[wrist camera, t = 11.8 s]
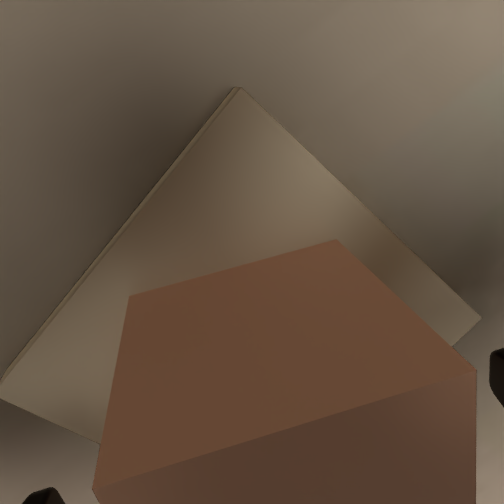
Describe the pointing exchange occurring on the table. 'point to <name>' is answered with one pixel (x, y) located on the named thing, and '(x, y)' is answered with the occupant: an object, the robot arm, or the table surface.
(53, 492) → the robot arm
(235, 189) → the coaster
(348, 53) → the table surface
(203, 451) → the cube
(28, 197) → the table surface
